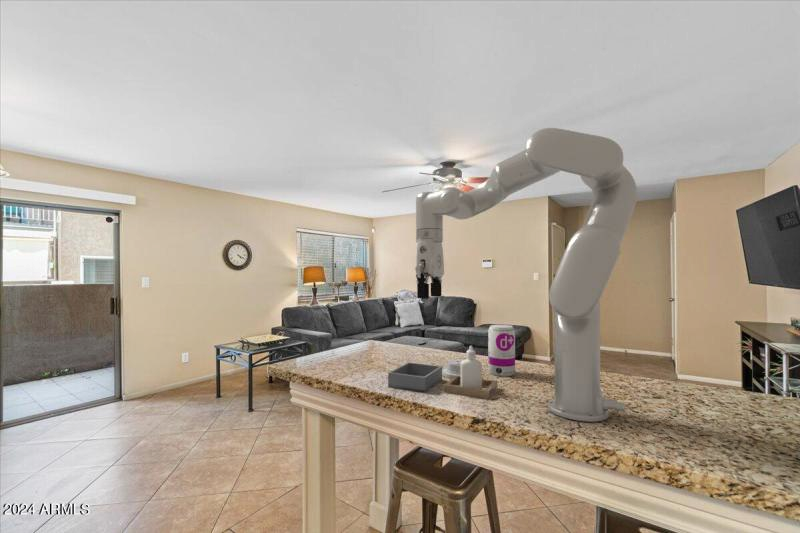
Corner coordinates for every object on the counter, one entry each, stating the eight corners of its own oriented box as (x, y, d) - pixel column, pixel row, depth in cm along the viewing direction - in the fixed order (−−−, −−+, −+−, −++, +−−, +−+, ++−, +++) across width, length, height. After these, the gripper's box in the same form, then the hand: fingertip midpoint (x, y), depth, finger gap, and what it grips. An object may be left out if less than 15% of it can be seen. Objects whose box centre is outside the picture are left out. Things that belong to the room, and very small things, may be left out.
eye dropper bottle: (464, 386, 102) (463, 343, 102) (483, 389, 99) (483, 345, 100) (458, 390, 98) (458, 346, 99) (478, 394, 96) (478, 348, 96)
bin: (442, 379, 108) (442, 366, 109) (425, 392, 97) (425, 377, 97) (408, 375, 114) (408, 362, 114) (388, 386, 102) (388, 372, 102)
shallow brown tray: (497, 388, 101) (497, 380, 101) (489, 399, 92) (489, 391, 92) (455, 382, 106) (455, 375, 106) (444, 392, 97) (444, 384, 97)
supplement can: (518, 376, 112) (518, 328, 112) (491, 376, 112) (491, 327, 112) (510, 369, 120) (510, 324, 120) (485, 369, 120) (485, 324, 120)
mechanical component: (436, 376, 113) (465, 382, 107) (436, 362, 113) (465, 367, 107) (451, 369, 121) (479, 374, 115) (451, 356, 121) (479, 360, 115)
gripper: (430, 233, 93) (431, 299, 93) (451, 238, 109) (452, 296, 108) (404, 234, 97) (404, 299, 96) (428, 239, 112) (428, 295, 112)
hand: (429, 297), depth 102 cm, fingers open, 9 cm apart
